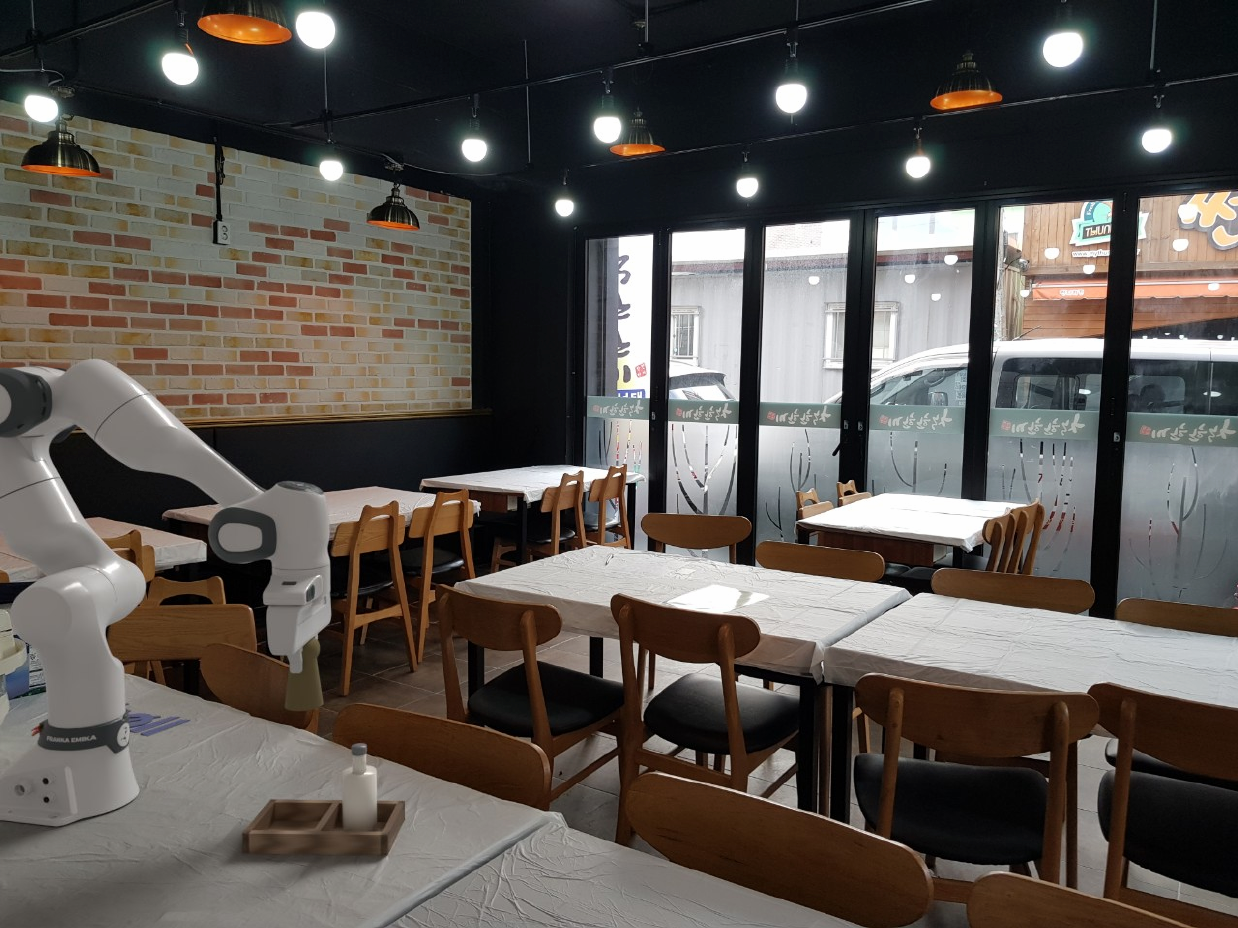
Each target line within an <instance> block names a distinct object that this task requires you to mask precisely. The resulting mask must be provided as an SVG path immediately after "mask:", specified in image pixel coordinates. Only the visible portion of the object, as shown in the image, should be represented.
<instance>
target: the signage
mask: <svg viewBox="0 0 1238 928" xmlns="http://www.w3.org/2000/svg"><path fill="white" fill-rule="evenodd" d="M126 706H129V702H125V707H126ZM126 709H127V708H126ZM127 710H128V713H129V729H130V733H131V732H132V733H134V734H138V733H140V735H141V736H145V737H149V736H153V735H155V734H158V733H161V732H163V731H166V730H169V729H172V728H174V727H176V726H180V725H182V724H186V723H188V722H190V721H191V719H186V718H185V719H180V716H169V717H166V718H163V719H162V717H161V715H156V714H155V715H153V714H150V713H145V712H144V713H141V712H139V713H137V712H136V713H130V712H132V710H131V709H129V708H128V709H127ZM155 719H159V720H157V721H153V720H155ZM160 719H161V720H160ZM177 719H178V720H177ZM175 720H176V721H175ZM151 722H152V723H151ZM166 723H167V724H166ZM163 724H164V725H163Z"/></svg>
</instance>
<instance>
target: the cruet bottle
mask: <svg viewBox="0 0 1238 928" xmlns="http://www.w3.org/2000/svg"><path fill="white" fill-rule="evenodd" d="M367 746H368V745H367V744H366V743H365V742H364V743H363V742H362V743H361V742H360V743H359V742H358V743H354V744H352V745H351V746H350V747H351V755H352V756H351V757H352V758H351V763H352V766H349V767H347V768H346V769H344V770H343V771H342V773H341V788H342V789H341V791H342V793H341V797H342V798H341V800H342V807H343V831H364V832H377V801H378V782H377V781H378V779H377V778H378V773H377V771H378V769H377V768H376V767H375V766H373V765H368V764H367V752H368V747H367Z"/></svg>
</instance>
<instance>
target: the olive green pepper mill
mask: <svg viewBox="0 0 1238 928" xmlns="http://www.w3.org/2000/svg"><path fill="white" fill-rule="evenodd" d="M320 652H321V645H320V642H319V640H318V639H315V638H312V639H311V640H309V641H308V642H307V643H306V644H305V645H304V646H303V651H302V652H301V653H302V660H304V669H303V670H302V671H301V672H300V673H291V672H290V666H289V668H288V676H287V677H288V678H287V683H286V684H287V685H286V693H285V703H284V709H286V710H288V711H292V712H307V711H312V710H316V709H318V708H320V707H322V706H323V705H324V697H323V691H322V685H321V684H322V683H321V677H320V669H319V665H318V657H319V655H320Z"/></svg>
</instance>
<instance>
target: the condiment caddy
mask: <svg viewBox="0 0 1238 928" xmlns="http://www.w3.org/2000/svg"><path fill="white" fill-rule="evenodd" d="M405 820H406V801H405V800H377V832H364V831H343V807H342V799H282V798H281V799H278V798H276V799H274V798H273V799H272V798H271V799H269V800H268V802H267V803H266V804H265V806H264V807H263V808H262V809H261V810H260V812H258V814H257V815H256V816H255V817H254V819H253V820H252V821H251V822H250V823H249V825H248V826H247V827H246V828H245V830H244V831H243V832H242V833H241V839H242V840H241V841H242V842H241V843H242V846H241V847H242V854H243V855H248V854H249V855H316V856H317V855H319V856H321V855H322V856H324V855H325V856H326V855H327V856H329V855H331V856H334V855H335V856H344V855H345V856H388V855H389V853H390V852H391V849H392V847H393V845H394V843H395V841H396V839H397V837H398V835H399V832H400V830H401V829H402V826H403V824H404V822H405Z"/></svg>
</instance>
